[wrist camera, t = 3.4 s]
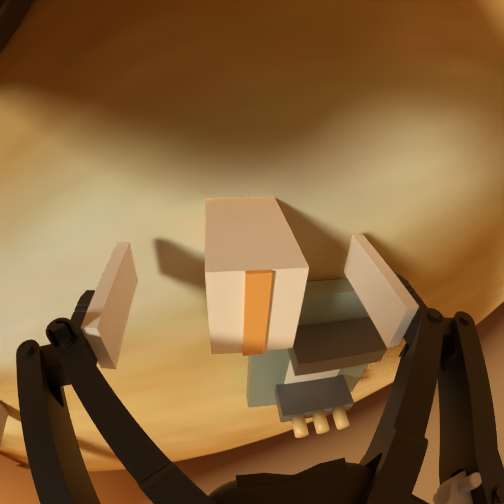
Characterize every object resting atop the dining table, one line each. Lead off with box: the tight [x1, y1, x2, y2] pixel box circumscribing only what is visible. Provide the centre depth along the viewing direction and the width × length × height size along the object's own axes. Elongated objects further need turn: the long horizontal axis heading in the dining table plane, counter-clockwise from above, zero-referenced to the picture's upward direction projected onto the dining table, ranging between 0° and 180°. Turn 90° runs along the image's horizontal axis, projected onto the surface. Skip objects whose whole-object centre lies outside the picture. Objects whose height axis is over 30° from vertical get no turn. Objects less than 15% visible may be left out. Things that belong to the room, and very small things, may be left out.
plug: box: [205, 197, 309, 356], centre depth 15 cm, size 5×4×7 cm
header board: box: [247, 274, 398, 438], centre depth 23 cm, size 16×12×7 cm
